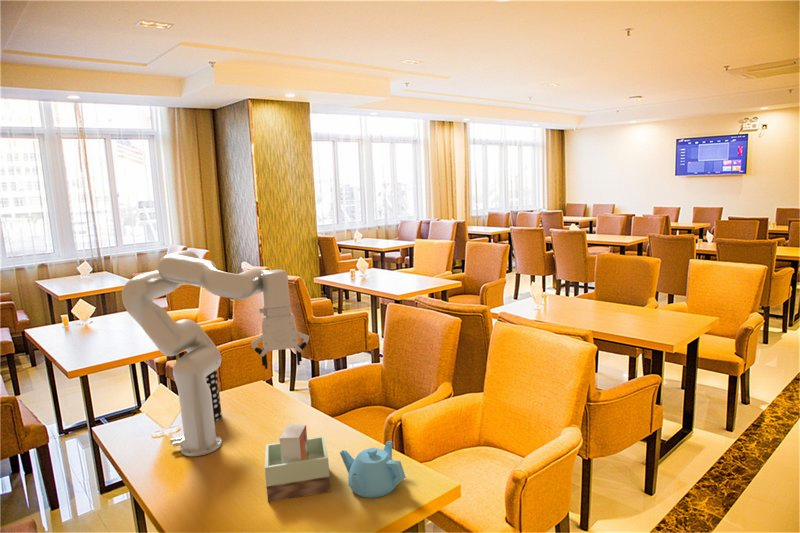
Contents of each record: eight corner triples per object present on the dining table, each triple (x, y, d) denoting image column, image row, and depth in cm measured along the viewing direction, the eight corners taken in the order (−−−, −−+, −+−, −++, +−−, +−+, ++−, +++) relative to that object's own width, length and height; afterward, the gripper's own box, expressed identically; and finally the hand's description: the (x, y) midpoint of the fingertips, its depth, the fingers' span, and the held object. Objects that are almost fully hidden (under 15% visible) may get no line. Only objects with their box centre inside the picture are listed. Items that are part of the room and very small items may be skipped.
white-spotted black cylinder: (207, 425, 189) (201, 371, 186) (192, 420, 193) (186, 367, 190) (226, 416, 196) (221, 363, 193) (211, 411, 200) (205, 360, 197)
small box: (302, 474, 145) (299, 437, 143) (282, 474, 145) (278, 438, 144) (309, 458, 153) (306, 424, 151) (290, 458, 153) (287, 424, 151)
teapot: (351, 507, 138) (348, 469, 136) (341, 477, 152) (338, 442, 150) (408, 495, 142) (406, 458, 140) (392, 467, 156) (391, 432, 154)
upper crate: (266, 486, 141) (264, 467, 140) (267, 461, 154) (265, 444, 153) (329, 476, 145) (328, 458, 144) (325, 452, 157) (324, 435, 156)
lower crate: (268, 502, 142) (266, 486, 141) (268, 476, 154) (267, 461, 154) (330, 491, 145) (329, 476, 145) (326, 466, 158) (325, 452, 157)
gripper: (247, 317, 155) (252, 373, 158) (307, 311, 158) (311, 366, 161) (248, 311, 162) (253, 365, 165) (306, 305, 166) (310, 358, 169)
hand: (282, 365), depth 163 cm, fingers open, 9 cm apart
